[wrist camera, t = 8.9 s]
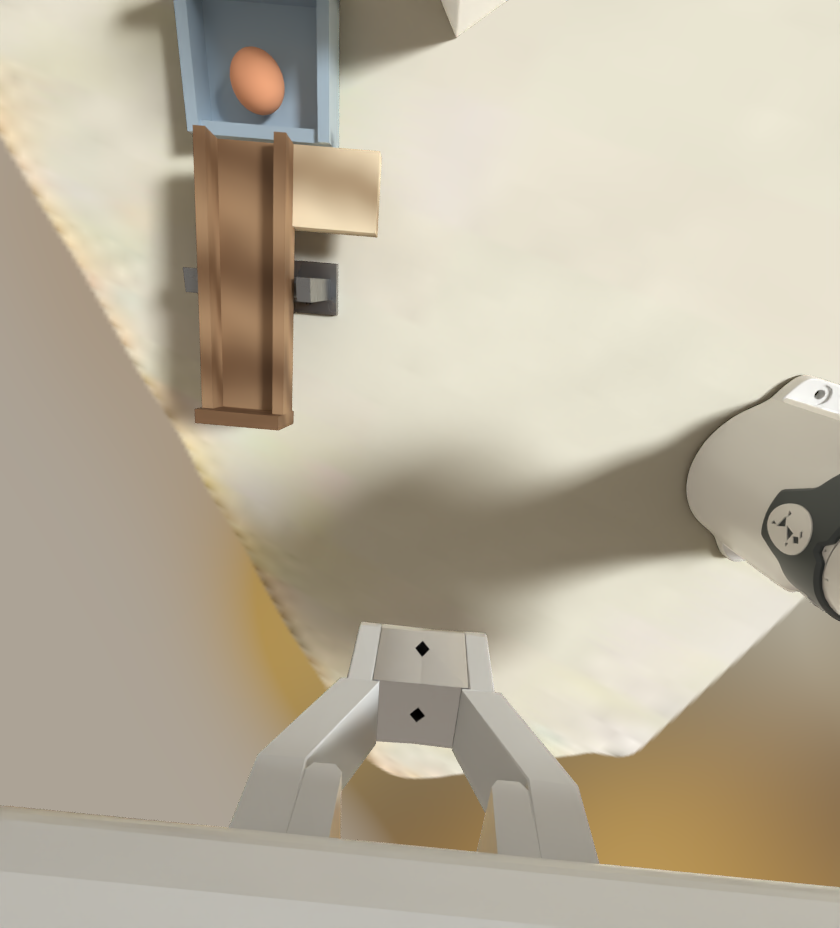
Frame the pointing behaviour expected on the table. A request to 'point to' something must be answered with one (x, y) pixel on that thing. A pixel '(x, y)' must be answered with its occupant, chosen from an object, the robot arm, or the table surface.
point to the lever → (264, 260)
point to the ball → (257, 80)
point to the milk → (468, 12)
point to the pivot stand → (300, 286)
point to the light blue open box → (288, 42)
